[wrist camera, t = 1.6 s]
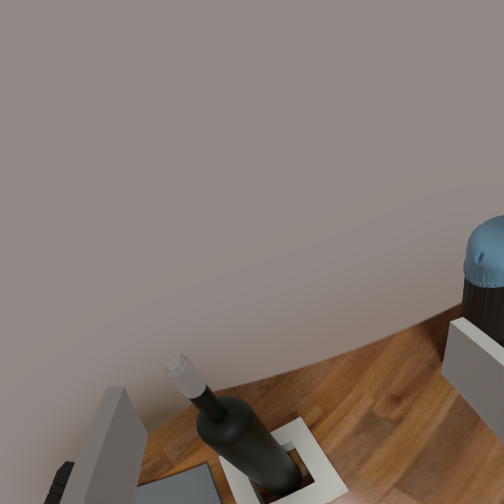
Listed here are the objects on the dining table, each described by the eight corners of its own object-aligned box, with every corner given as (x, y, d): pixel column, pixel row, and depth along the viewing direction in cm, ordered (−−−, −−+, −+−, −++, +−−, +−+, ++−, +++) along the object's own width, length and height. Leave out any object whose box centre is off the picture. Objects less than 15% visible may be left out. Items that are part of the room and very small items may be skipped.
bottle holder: (304, 424, 44) (300, 416, 42) (348, 491, 32) (346, 486, 30) (226, 462, 42) (218, 456, 40) (256, 534, 29) (249, 532, 28)
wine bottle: (276, 457, 40) (174, 329, 26) (309, 469, 37) (222, 345, 22) (256, 486, 37) (130, 377, 22) (289, 501, 33) (174, 405, 19)
